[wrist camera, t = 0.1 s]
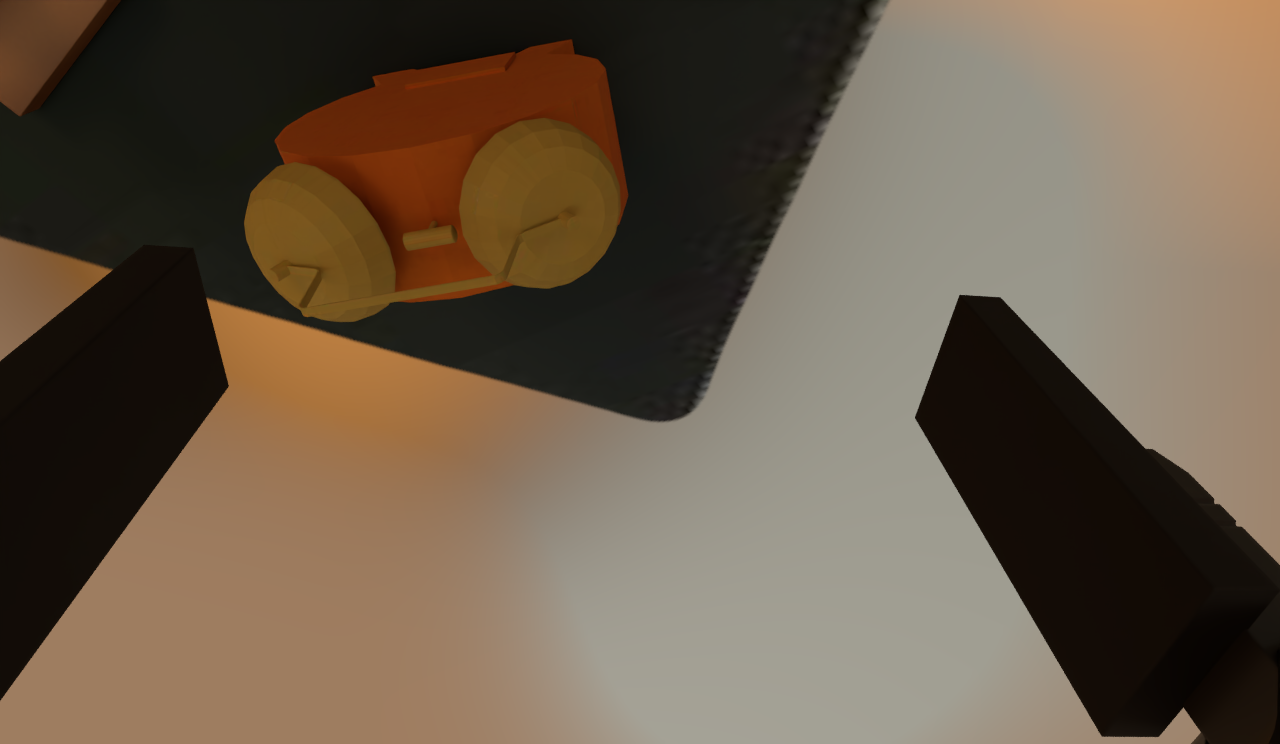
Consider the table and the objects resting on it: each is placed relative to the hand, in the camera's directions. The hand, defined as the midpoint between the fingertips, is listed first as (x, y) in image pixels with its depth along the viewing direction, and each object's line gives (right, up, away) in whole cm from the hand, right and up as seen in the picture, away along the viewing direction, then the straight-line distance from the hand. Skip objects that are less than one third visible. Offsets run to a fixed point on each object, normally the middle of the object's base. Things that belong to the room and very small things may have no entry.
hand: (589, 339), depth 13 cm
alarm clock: (-7, +13, +25) cm, 29 cm away
